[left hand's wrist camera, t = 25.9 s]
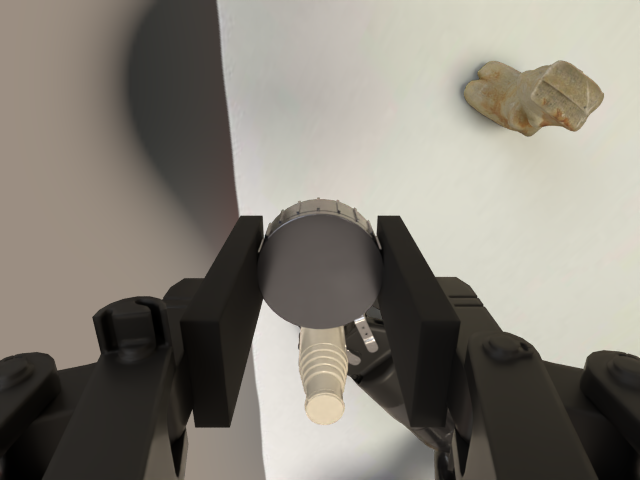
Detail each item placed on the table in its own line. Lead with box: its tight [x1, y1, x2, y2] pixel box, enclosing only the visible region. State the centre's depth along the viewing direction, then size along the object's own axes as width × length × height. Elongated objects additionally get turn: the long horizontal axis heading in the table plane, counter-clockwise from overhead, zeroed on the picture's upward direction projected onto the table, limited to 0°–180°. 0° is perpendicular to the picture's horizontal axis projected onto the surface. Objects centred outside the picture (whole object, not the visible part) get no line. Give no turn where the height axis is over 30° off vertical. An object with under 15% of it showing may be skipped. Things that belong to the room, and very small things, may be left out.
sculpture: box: [464, 61, 604, 136], centre depth 36 cm, size 6×7×15 cm
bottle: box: [299, 325, 348, 425], centre depth 41 cm, size 4×4×22 cm
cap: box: [257, 198, 384, 329], centre depth 13 cm, size 4×4×2 cm
